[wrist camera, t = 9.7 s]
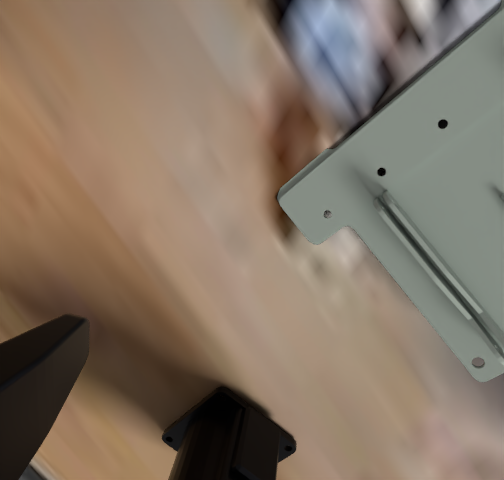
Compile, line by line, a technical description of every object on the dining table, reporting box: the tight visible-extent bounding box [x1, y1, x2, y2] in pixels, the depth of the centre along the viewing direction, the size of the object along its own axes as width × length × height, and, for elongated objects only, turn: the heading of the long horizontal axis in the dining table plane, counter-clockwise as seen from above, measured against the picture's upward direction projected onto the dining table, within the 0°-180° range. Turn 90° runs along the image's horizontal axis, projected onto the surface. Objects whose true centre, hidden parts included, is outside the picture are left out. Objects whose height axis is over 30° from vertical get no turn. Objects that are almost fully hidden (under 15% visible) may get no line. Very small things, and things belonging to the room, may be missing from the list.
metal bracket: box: [277, 0, 504, 382], centre depth 18 cm, size 14×6×15 cm
